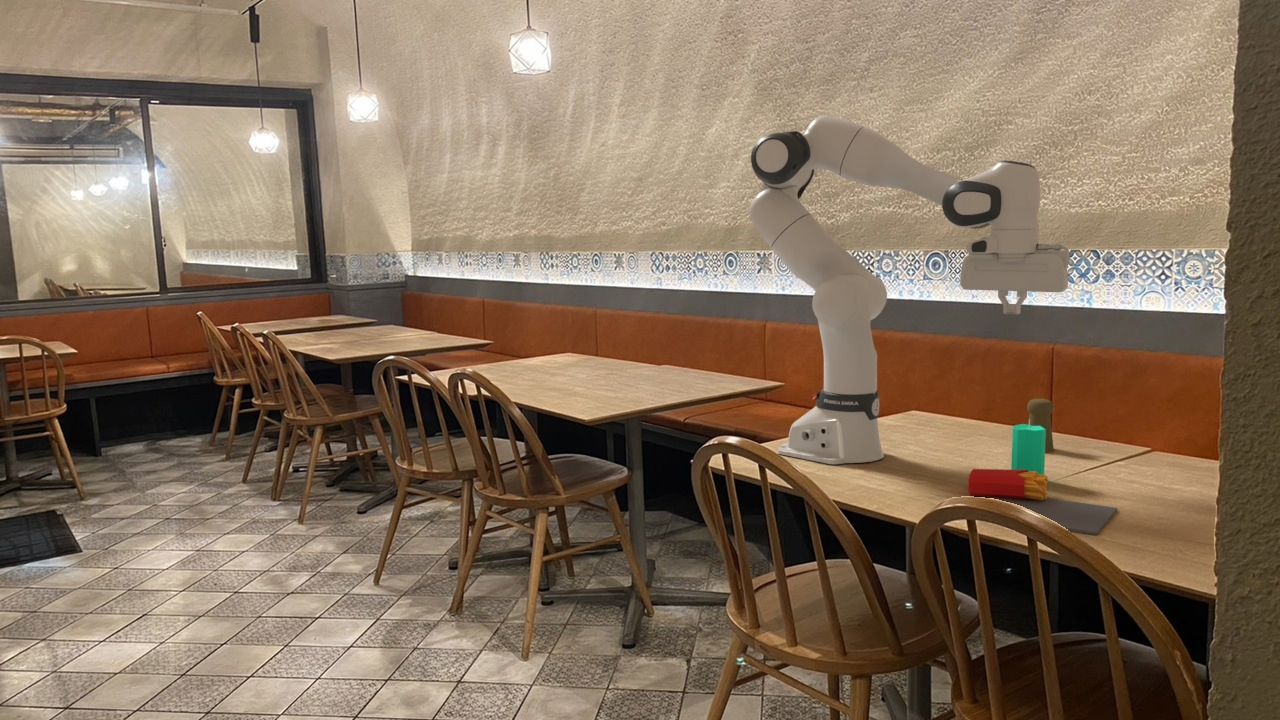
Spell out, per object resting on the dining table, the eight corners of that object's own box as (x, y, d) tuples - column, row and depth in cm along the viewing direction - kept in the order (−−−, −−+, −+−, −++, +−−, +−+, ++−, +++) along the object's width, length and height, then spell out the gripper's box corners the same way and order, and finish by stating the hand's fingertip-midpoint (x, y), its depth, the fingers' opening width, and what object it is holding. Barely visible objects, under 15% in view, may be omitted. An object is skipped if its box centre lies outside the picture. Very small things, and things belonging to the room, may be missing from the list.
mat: (970, 515, 169) (970, 512, 169) (997, 493, 181) (998, 491, 181) (1096, 535, 157) (1096, 532, 157) (1117, 510, 170) (1117, 507, 170)
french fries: (974, 465, 185) (1049, 467, 179) (975, 487, 186) (1050, 490, 180) (966, 477, 177) (1044, 480, 171) (967, 500, 178) (1045, 504, 172)
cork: (1058, 452, 212) (1060, 401, 211) (1029, 452, 212) (1031, 402, 211) (1047, 445, 218) (1049, 396, 217) (1019, 446, 218) (1021, 397, 217)
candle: (1040, 486, 186) (1043, 423, 184) (1007, 482, 189) (1009, 420, 187) (1046, 479, 191) (1049, 417, 189) (1014, 475, 194) (1016, 415, 192)
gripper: (1074, 243, 192) (1070, 314, 194) (968, 243, 204) (966, 310, 206) (1065, 244, 187) (1062, 317, 189) (958, 244, 199) (956, 313, 201)
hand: (1011, 313), depth 198 cm, fingers closed
